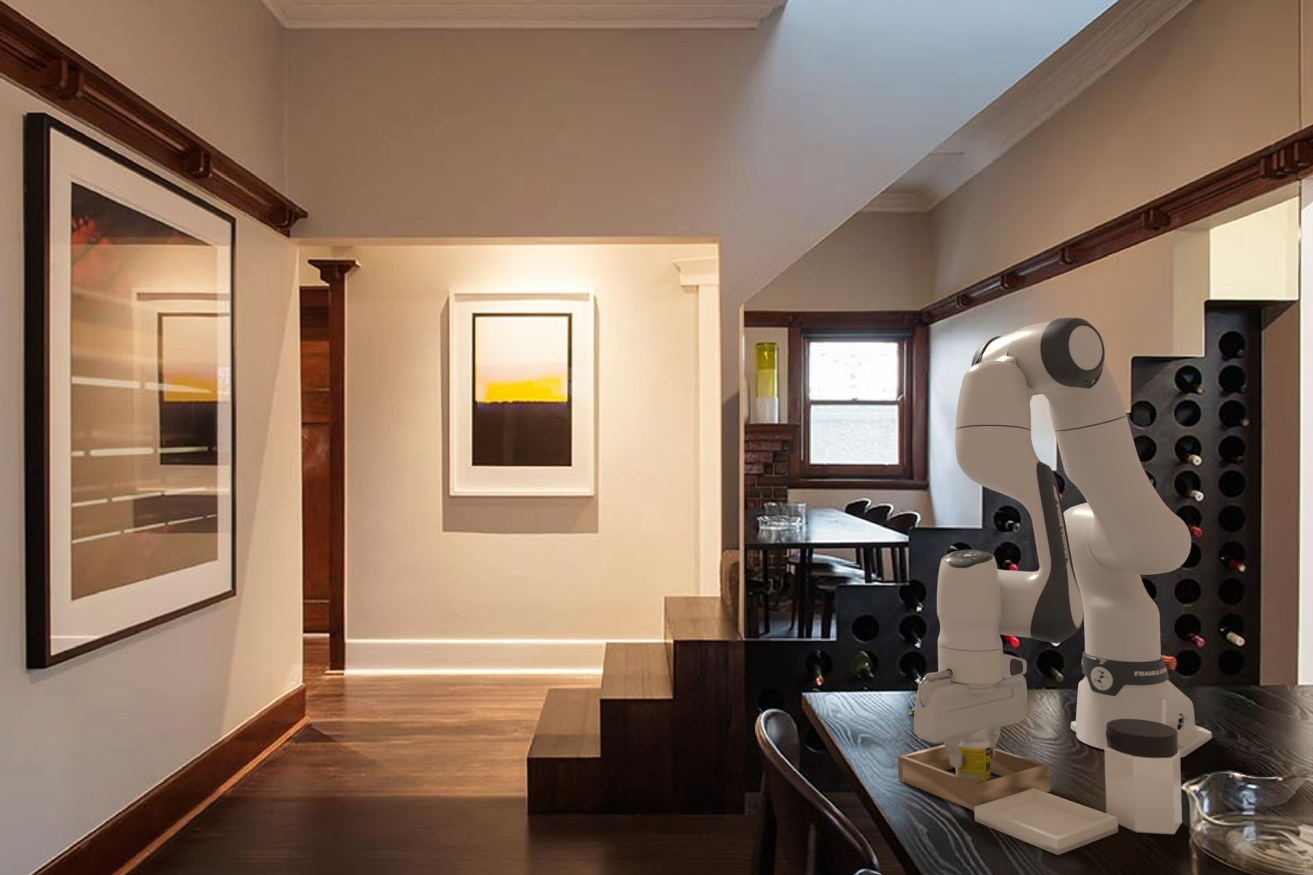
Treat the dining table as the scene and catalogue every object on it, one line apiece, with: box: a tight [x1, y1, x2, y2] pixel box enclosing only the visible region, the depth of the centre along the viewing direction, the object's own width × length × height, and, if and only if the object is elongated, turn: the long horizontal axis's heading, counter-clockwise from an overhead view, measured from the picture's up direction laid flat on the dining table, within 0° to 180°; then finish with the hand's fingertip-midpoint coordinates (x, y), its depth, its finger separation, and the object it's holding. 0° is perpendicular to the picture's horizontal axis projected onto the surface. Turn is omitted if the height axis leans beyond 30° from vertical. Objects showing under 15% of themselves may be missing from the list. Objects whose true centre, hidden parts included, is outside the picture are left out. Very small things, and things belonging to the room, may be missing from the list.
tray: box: [974, 788, 1119, 856], centre depth 114 cm, size 12×12×2 cm
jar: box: [1104, 719, 1183, 835], centre depth 116 cm, size 9×8×12 cm
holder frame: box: [897, 744, 1052, 812], centre depth 129 cm, size 15×15×4 cm
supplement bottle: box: [955, 729, 992, 784], centre depth 129 cm, size 5×5×8 cm
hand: (972, 761), depth 129 cm, fingers closed on supplement bottle, 5 cm apart
